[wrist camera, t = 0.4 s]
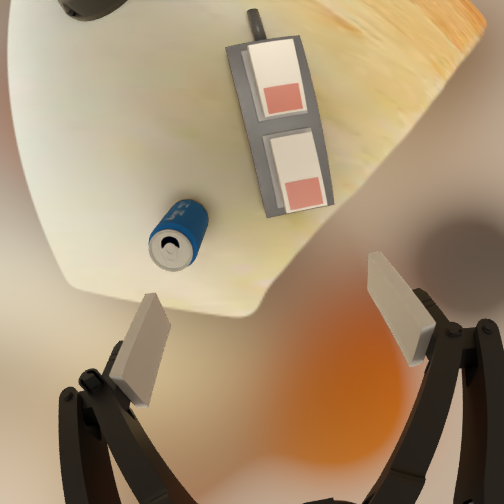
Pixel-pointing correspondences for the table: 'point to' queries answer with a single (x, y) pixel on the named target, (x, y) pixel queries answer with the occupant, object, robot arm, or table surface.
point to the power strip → (275, 119)
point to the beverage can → (178, 236)
